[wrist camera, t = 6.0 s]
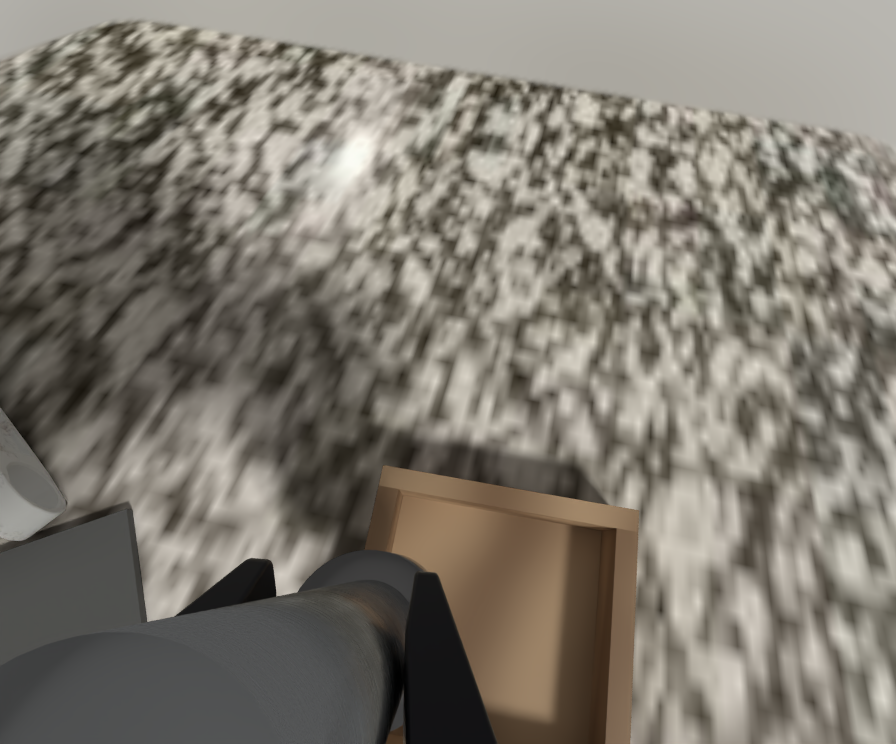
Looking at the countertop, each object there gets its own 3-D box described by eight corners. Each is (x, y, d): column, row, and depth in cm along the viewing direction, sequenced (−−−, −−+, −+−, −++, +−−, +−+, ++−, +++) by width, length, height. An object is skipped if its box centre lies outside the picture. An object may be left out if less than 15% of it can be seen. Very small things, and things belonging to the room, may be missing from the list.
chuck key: (459, 557, 15) (497, 540, 3) (449, 709, 14) (453, 1706, 2) (318, 546, 15) (-158, 489, 3) (294, 696, 14) (-680, 1540, 2)
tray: (617, 516, 21) (639, 510, 19) (602, 800, 18) (626, 837, 15) (390, 475, 22) (383, 465, 20) (333, 741, 19) (315, 769, 16)
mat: (159, 714, 19) (153, 717, 18) (-65, 803, 18) (-76, 808, 18) (132, 509, 22) (126, 509, 21) (-64, 578, 21) (-74, 578, 20)
